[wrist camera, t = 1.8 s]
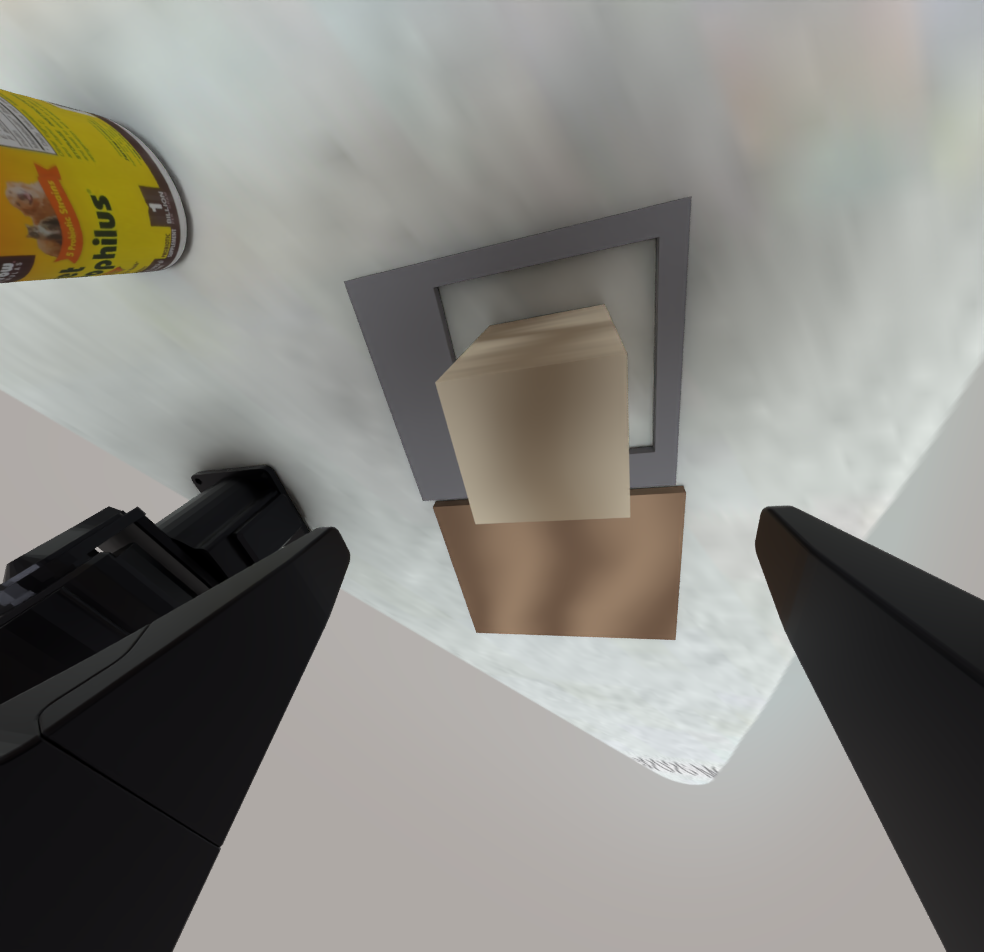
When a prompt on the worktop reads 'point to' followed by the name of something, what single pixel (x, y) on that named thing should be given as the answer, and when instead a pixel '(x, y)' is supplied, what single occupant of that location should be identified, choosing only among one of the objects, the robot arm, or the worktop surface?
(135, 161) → the supplement bottle
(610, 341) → the beige wooden block
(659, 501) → the board
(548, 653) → the worktop surface
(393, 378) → the mat
